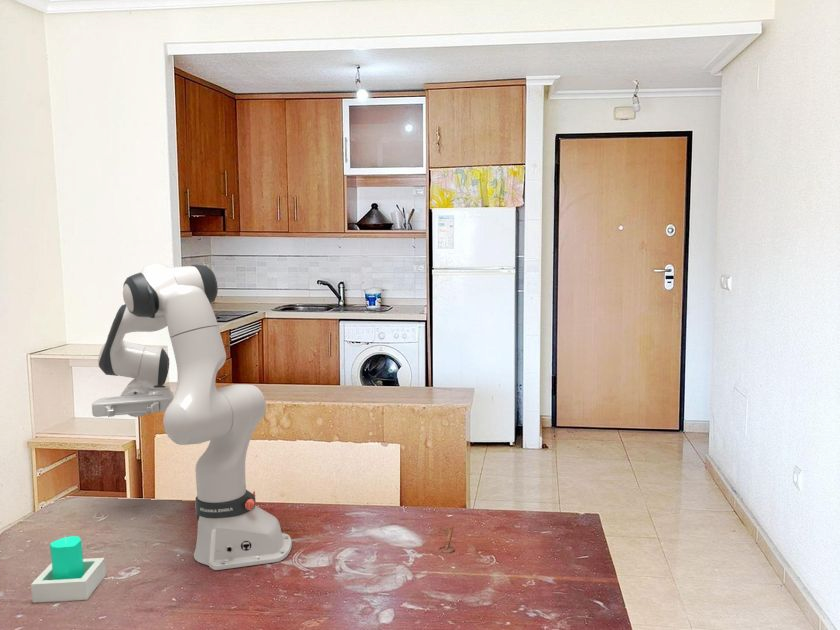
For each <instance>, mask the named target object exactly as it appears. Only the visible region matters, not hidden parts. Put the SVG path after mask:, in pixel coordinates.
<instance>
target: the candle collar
mask: <svg viewBox="0 0 840 630" xmlns="http://www.w3.org/2000/svg"><path fill="white" fill-rule="evenodd" d="M105 559H106V557H95V558H93V557H92V558H90V557H89V558H83V565H84V575H83V577H82V578H79V579H60V580H53V571H52V562H51V563H50V564H49V565H48V566H46V568H44V570H43V571H42V572H41V573H40V574H39V575H38V576H37V578H36V579H35V580H33V582H31V583H30V589H31V590H30V591H31V601H32V603H52V602H68V601H69V602H70V601H87V600H88V599H89V598H90V597H91V595H92V594H93V592H95V590H96V589H97V588H98V587H99V585H100V584H101V582H102V581H103V580H104V579H105V577H106V576H107V570H106V569H107V567H106V560H105Z"/></svg>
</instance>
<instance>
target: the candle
mask: <svg viewBox="0 0 840 630" xmlns="http://www.w3.org/2000/svg"><path fill="white" fill-rule="evenodd" d="M82 545H83V544H82V539H81V538H80V536H75V535H72V536H66V534H64V537H62V538H59V539H57V540H54V541H52V542H51V543H50V544H49V548H50V558H51V563H52V571H53V580H60V579H79V578H82V577H83V575H84V565H83V559H84V557H83V556H84V555H83V546H82Z"/></svg>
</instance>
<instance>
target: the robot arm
mask: <svg viewBox="0 0 840 630" xmlns="http://www.w3.org/2000/svg"><path fill="white" fill-rule="evenodd" d="M218 288H219V287H218V282H217V278H216V275H215V273H214V272H213V270H212V269H211V268H210V267H209V266H207V265H203V264H191V265H189V266H188V265H187V266H186V265H185V266H184V265H183V266H174V267H169V266H168V265H165V264H162V263H152V264H148V265H146V266H145V267H143V269H141V271H140V272H138V273H134V274H132V275H129V276H128V277H127V278H126V279H125V281H124V283H123V288H122V289H123V290H122V297H123V301H124V304H121V306H120V307H119V309H118V310H117V312H116V314H115V317H114V319H113V322H112V324H111V326H110V330H109V332H108V335H107V339H106V341H105V342H104V343H103V344H104V345H102V347H101V349H100V351H99V354H98V359H97V361H98V362H97V363H98V368H100V370H101V372H102V373H104V375H106V376H114V377H115V376H116V377H118V376H119V377H124V378H125V377H126V378H130V379H132V380H131V381H130V382H129V383H128V384H127V385H126V387H125V388H124V389H123V391H122V392H121V394H120V396H107V397H100V398H98V399H96V400H95V401H94V402H92V404H91V413H92V416H93V417H96V418H98V417H99V418H100V417H108V418H110V417H111V418H112V417H115V416H124V415H125V416H126V415H128V416H130V417H133V418H134V417H135V418H139V417H143V416H145V415H149V414H154V413H159V412H161V413H162V412H164V414H163V419H162V422H163V428H164V432H165V433H166V435H167V437H168V438H169V439H170V440H171V441H172V442H173V443H175V444H176V445H178V446H179V445H180V446H185V445H188V446H189V445H198V444H202V443H203V444H204V443H205V442H206V443H207V442H208V441H209V443H208V445H207V448H206V449H205V451H204V452H203V453H202V454H201V455H200V457H199V458H198V460H197V461H196V464H195V483H196V497H195V501H194V502H195V503H194V504H195V507H194V508H195V517H196V521H197V536H196V542H195V543H196V544H195V549H194V553H193V558H194V560H195V561H196V562H197V563H200V564H202V565H206V566H209V568H210V569H212V571H213V570H214V571H221V570H226V569H227V570H228V569H236V568H243V567H248V566H249V567H250V566H256V565H264V564H271V563H278V562H281V561H282V560H284V559H285V558H287V557H288V555H289V554H290V553H291V550H292V547H293V542H292V538H291V536H290V534H287V533H285V532H282V529H281V524H280V522H279V519H278V518H277V517H276V516H274V515H273V514H271V513H269V512H268V511H266V510H265V509H262V508H261V507H260V506H257V505H256V491H255V490H254V491H253V492H250V491H249V490H248V489H247V486H246V485H247V484H246V480H247V479H246V460H247V459H246V457H247V453H248V449H249V444H250V441H251V439H252V435H253V434H254V431H255V430H256V428H257V426H258V425H259V424H260V423H261V421H262V420H263V418H264V417H265V415H266V410H267V402H266V398H265V396H264V394H263V391H261V390H260V389H259V387H257V386H256V385H254V384H248V383H247V384H244V383H241V384H239V383H237V384H230V385H227V386H222V387H219V388H217V387H216V380H217V379H216V377H217V375H218V371H219V370H221V368H222V367H223V366H224V365H225V364H226V363H225V362H226V360H227V353H226V350H225V349H226V348H225V344H224V343H223V342H224V341H223V338H222V334H221V331H220V328H219V323H218V320H217V317H216V314H215V311H214V309H213V307H212V303H214V302H215V300H216V299H217V296H218V292H219V291H218V290H219V289H218ZM166 327H167V329H168V331H167V332H168V335H169V339H170V342H171V343H170V344H171V346H172V350H173V355H174V359H175V363H176V364H175V365H176V369H177V384H176V389H175V392H173V391H172V390H171V386H169V385H165V383H166V381H167V378H168V374H169V370H170V357H169V355H168V354H167V352H166V350H165V349H164V348H161V347H156V346H151V345H144V344H140V343H134V342H129V341H126V340H124V338H125V336H126V334H130V333H138V332H139V333H142V332H143V333H144V332H146V333H148V332H149V333H154V332H157V331H160V330H163V329H165V328H166Z"/></svg>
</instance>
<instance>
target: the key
mask: <svg viewBox="0 0 840 630" xmlns="http://www.w3.org/2000/svg"><path fill="white" fill-rule="evenodd" d="M453 528H454V526H453V524H451V525H449V526H445V527H440V528H439V530H438V534H446V535H447V537H446V540H445V545H444V546H442V547H441V546H440V547H439V548H438V550H437V552H439V553H441V554H450V553H453V552H454V551H455V550H456V549H455V548H454V547H453V546H451V545H450V543H451V538H452V534H453V533H452V532H453ZM442 549H445V550H442ZM448 549H449V550H448Z"/></svg>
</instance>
